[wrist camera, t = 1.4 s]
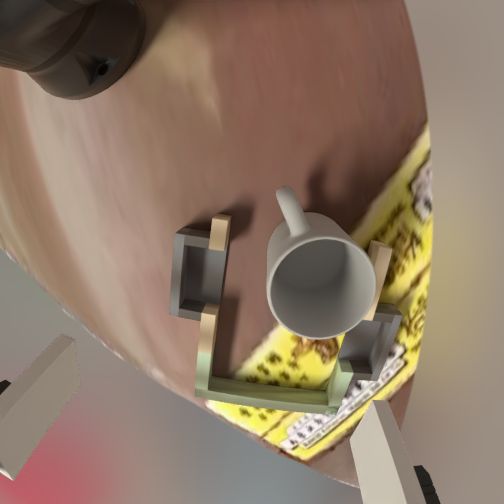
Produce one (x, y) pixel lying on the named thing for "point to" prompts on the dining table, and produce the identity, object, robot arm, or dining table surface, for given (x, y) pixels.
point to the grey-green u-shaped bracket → (207, 310)
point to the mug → (316, 273)
